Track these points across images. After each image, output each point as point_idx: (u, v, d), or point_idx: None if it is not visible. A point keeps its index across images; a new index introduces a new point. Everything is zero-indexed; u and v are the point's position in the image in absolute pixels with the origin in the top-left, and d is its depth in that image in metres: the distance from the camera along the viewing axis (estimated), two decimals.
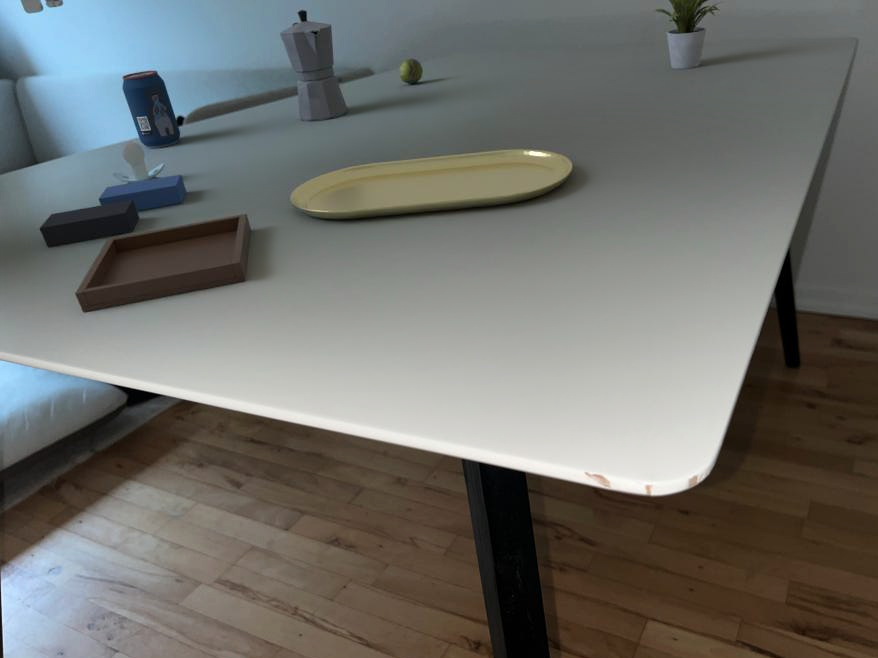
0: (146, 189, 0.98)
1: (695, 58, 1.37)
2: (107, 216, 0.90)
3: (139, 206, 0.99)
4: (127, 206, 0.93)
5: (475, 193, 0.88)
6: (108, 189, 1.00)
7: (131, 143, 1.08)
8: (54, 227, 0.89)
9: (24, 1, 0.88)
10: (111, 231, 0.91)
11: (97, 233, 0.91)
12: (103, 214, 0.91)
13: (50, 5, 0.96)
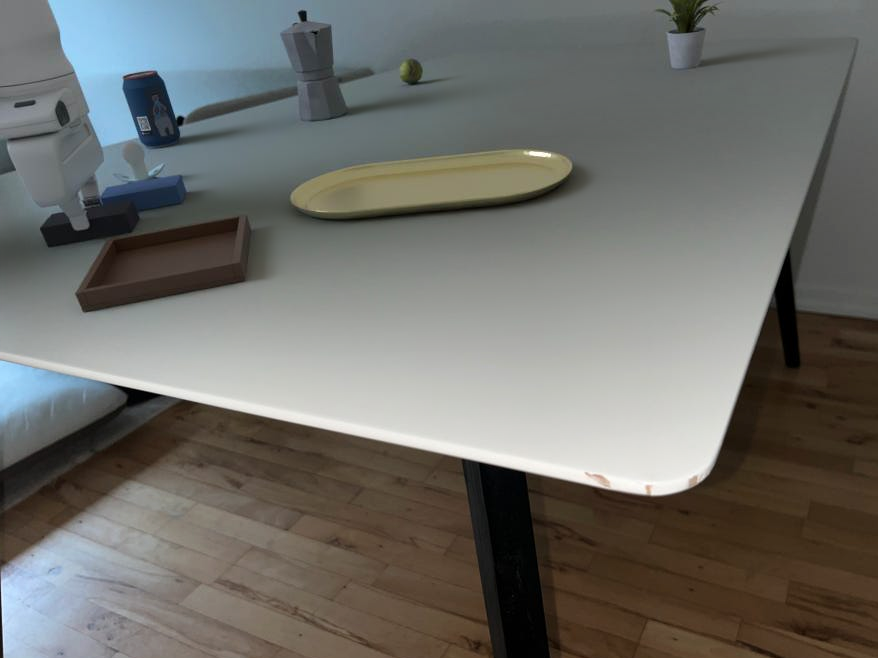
0: (146, 189, 0.98)
1: (695, 58, 1.37)
2: (107, 216, 0.90)
3: (139, 206, 0.99)
4: (127, 206, 0.93)
5: (475, 193, 0.88)
6: (108, 189, 1.00)
7: (131, 143, 1.08)
8: (54, 227, 0.89)
9: (73, 220, 0.88)
10: (111, 231, 0.91)
11: (97, 233, 0.91)
12: (103, 214, 0.91)
13: None
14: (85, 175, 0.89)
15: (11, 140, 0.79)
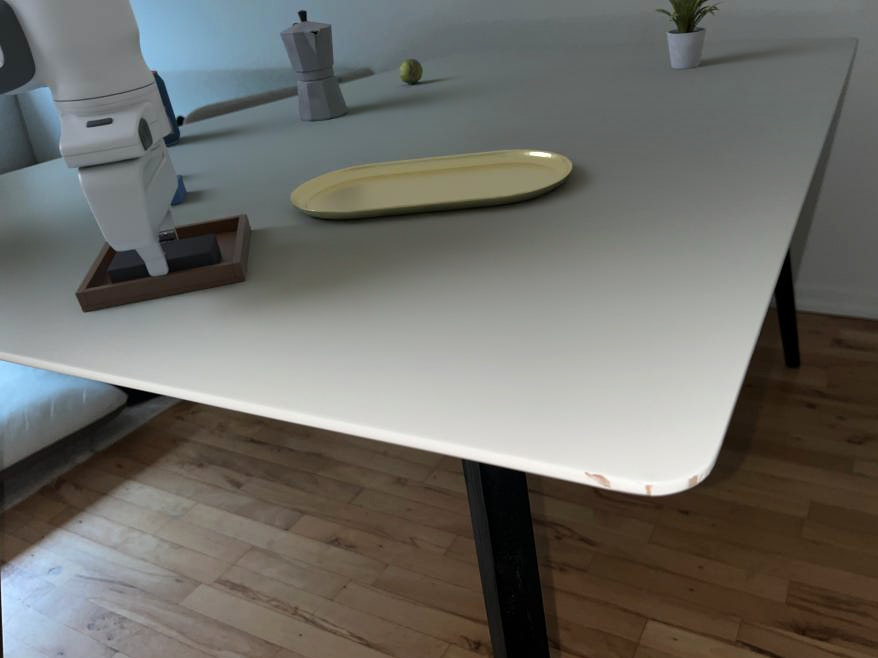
0: None
1: (695, 58, 1.37)
2: (189, 255, 0.73)
3: None
4: (211, 241, 0.76)
5: (475, 193, 0.88)
6: None
7: None
8: (125, 269, 0.73)
9: (149, 264, 0.71)
10: None
11: None
12: (183, 253, 0.74)
13: None
14: (164, 208, 0.72)
15: (83, 168, 0.63)
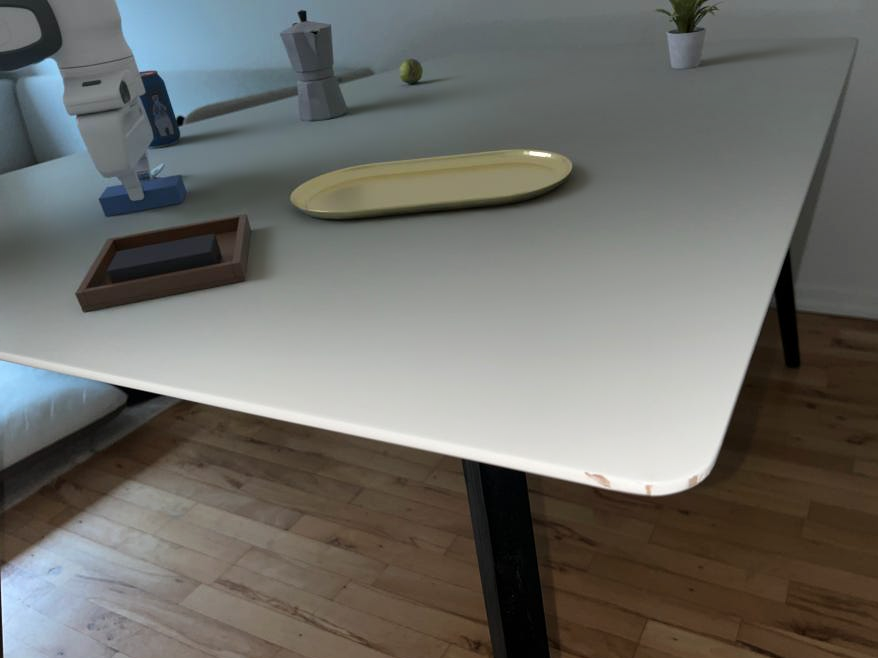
0: (146, 189, 0.98)
1: (695, 58, 1.37)
2: (189, 255, 0.73)
3: (139, 206, 0.99)
4: (211, 241, 0.76)
5: (475, 193, 0.88)
6: (108, 189, 1.01)
7: None
8: (125, 269, 0.73)
9: (130, 191, 0.96)
10: None
11: None
12: (183, 253, 0.74)
13: None
14: (141, 150, 0.97)
15: (79, 116, 0.87)
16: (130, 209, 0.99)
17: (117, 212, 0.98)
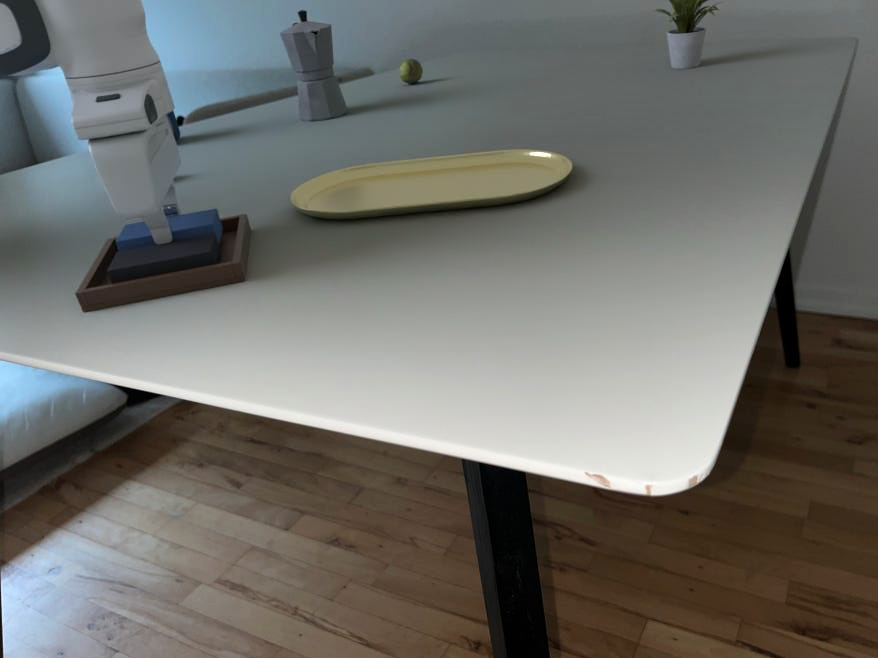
0: (175, 229, 0.78)
1: (695, 58, 1.37)
2: (189, 255, 0.73)
3: None
4: (211, 241, 0.76)
5: (475, 193, 0.88)
6: (127, 228, 0.80)
7: None
8: (125, 269, 0.73)
9: (155, 232, 0.76)
10: None
11: None
12: (183, 253, 0.74)
13: None
14: (168, 181, 0.77)
15: (93, 140, 0.67)
16: None
17: None
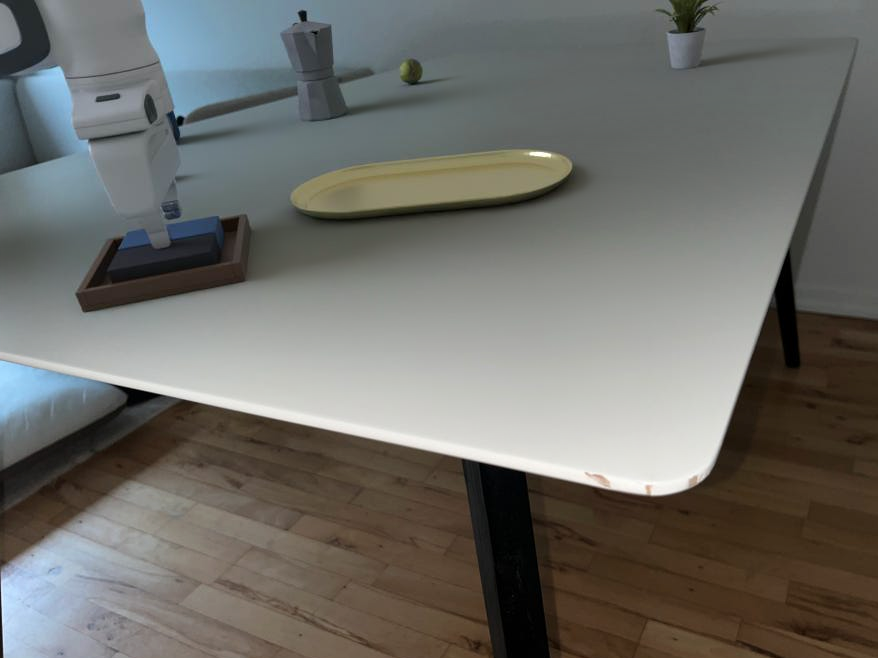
0: (177, 236, 0.79)
1: (695, 58, 1.37)
2: (189, 255, 0.73)
3: None
4: (211, 241, 0.76)
5: (475, 193, 0.88)
6: (129, 235, 0.81)
7: None
8: (125, 269, 0.73)
9: (152, 237, 0.75)
10: None
11: None
12: (183, 253, 0.74)
13: (169, 217, 0.84)
14: (168, 181, 0.77)
15: (93, 140, 0.67)
16: None
17: None
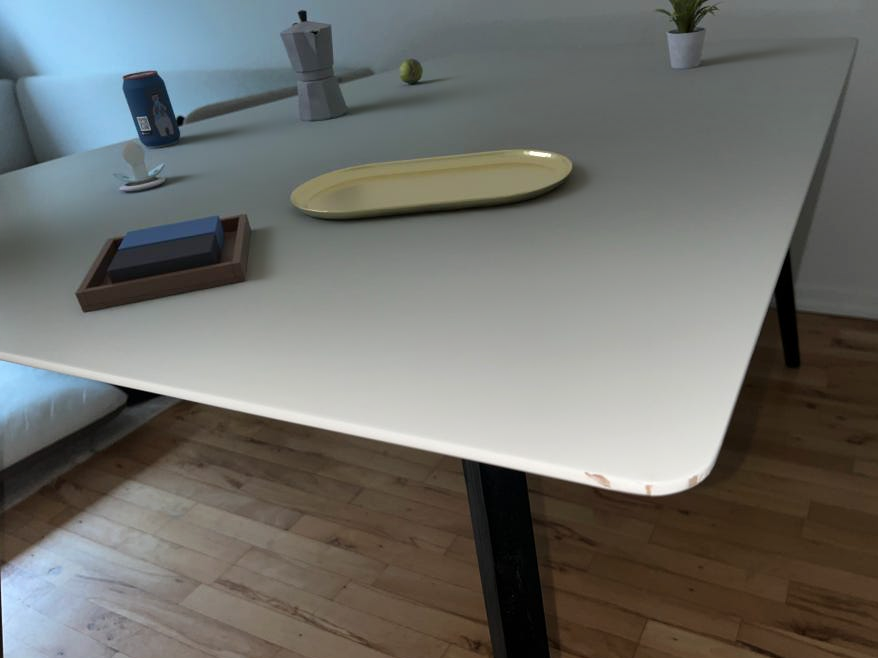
0: (177, 236, 0.79)
1: (695, 58, 1.37)
2: (189, 255, 0.73)
3: None
4: (211, 241, 0.76)
5: (475, 193, 0.88)
6: (129, 235, 0.81)
7: (131, 143, 1.08)
8: (125, 269, 0.73)
9: None
10: None
11: None
12: (183, 253, 0.74)
13: None
14: None
15: None
16: None
17: None
